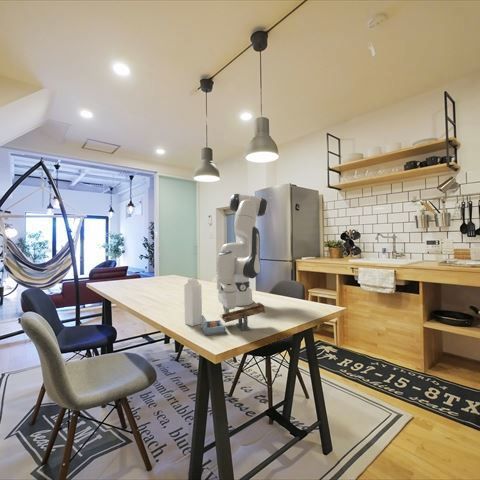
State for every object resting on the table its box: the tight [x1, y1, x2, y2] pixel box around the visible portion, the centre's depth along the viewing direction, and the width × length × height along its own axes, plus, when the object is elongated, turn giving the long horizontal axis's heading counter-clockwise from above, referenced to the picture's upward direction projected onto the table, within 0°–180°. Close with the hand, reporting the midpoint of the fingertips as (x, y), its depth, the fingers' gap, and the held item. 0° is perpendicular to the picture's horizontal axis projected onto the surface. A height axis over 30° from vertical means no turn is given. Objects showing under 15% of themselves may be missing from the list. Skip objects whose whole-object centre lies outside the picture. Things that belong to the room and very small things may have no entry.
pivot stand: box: [235, 315, 252, 332], centre depth 126 cm, size 4×10×7 cm, turn 17°
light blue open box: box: [200, 314, 226, 337], centre depth 122 cm, size 10×9×6 cm
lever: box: [219, 302, 266, 323], centre depth 129 cm, size 19×12×4 cm, turn 107°
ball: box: [209, 320, 217, 327], centre depth 122 cm, size 4×4×4 cm
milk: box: [183, 277, 203, 327], centre depth 134 cm, size 6×6×22 cm
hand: (226, 314), depth 130 cm, fingers closed, pressing on lever
